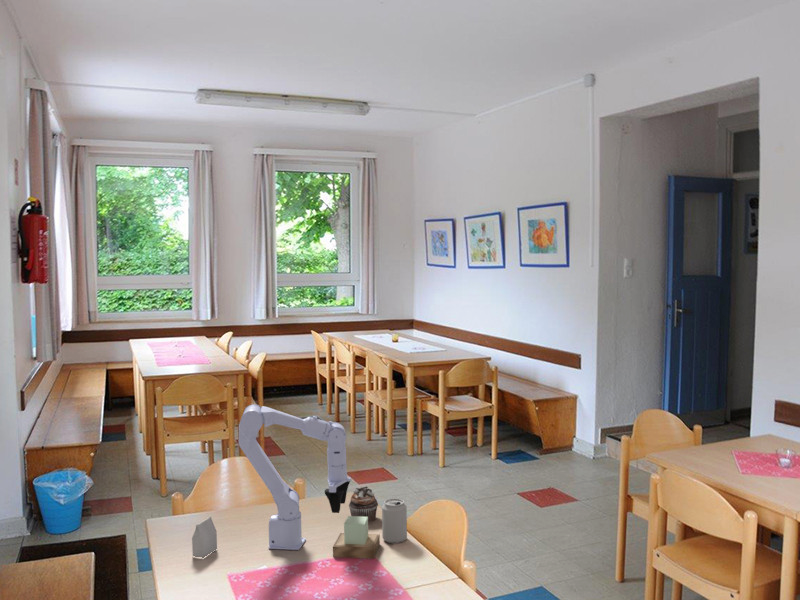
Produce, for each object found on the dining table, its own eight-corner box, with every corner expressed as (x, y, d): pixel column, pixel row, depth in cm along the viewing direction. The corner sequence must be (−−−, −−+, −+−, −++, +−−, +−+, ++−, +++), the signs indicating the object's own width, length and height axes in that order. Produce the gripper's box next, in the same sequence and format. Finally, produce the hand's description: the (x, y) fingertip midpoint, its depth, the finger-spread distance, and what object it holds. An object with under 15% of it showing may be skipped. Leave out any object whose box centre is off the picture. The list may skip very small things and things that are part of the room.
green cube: (344, 543, 205) (344, 523, 205) (348, 535, 211) (348, 516, 211) (364, 544, 205) (364, 524, 204) (368, 536, 211) (367, 516, 210)
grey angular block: (217, 550, 210) (216, 517, 209) (203, 559, 204) (202, 525, 203) (206, 548, 211) (205, 516, 211) (192, 557, 205) (191, 524, 204)
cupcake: (343, 517, 234) (342, 488, 233) (367, 511, 240) (367, 482, 239) (359, 526, 226) (358, 496, 226) (384, 519, 232) (383, 489, 231)
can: (404, 545, 211) (403, 506, 210) (380, 543, 213) (379, 504, 212) (409, 535, 219) (408, 497, 218) (385, 534, 220) (384, 496, 219)
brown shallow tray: (332, 556, 204) (332, 546, 204) (340, 542, 214) (340, 532, 214) (373, 558, 202) (373, 548, 202) (379, 544, 212) (379, 534, 212)
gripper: (344, 471, 206) (346, 517, 207) (354, 456, 220) (356, 499, 221) (321, 471, 207) (323, 516, 208) (332, 456, 221) (334, 499, 222)
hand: (338, 507), depth 214 cm, fingers open, 7 cm apart
